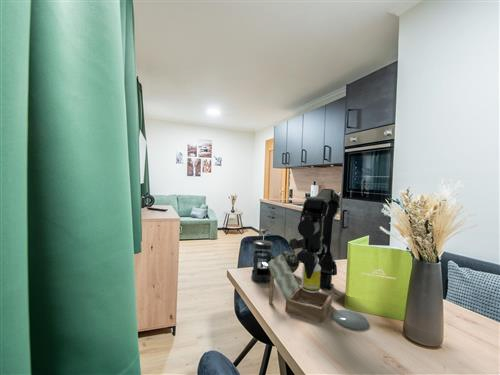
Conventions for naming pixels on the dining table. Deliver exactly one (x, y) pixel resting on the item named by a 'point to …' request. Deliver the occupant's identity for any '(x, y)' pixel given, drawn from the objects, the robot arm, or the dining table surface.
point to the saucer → (350, 319)
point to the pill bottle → (311, 279)
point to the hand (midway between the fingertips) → (311, 275)
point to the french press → (261, 269)
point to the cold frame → (296, 292)
